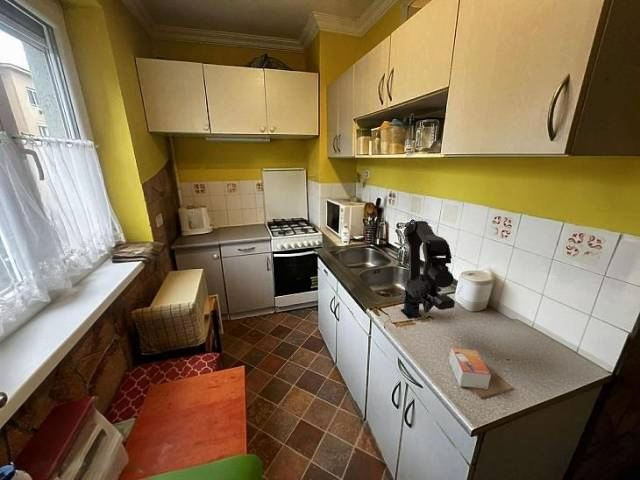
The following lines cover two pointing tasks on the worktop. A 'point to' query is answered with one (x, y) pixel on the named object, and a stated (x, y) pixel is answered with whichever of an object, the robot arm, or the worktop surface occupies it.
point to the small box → (469, 368)
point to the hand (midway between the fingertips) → (426, 312)
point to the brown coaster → (493, 385)
